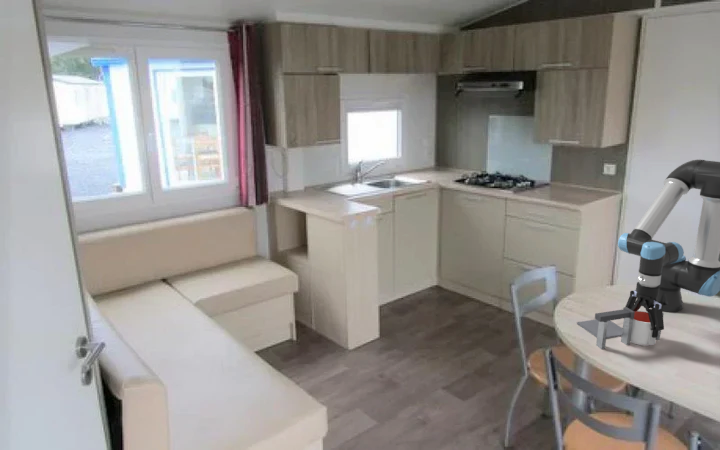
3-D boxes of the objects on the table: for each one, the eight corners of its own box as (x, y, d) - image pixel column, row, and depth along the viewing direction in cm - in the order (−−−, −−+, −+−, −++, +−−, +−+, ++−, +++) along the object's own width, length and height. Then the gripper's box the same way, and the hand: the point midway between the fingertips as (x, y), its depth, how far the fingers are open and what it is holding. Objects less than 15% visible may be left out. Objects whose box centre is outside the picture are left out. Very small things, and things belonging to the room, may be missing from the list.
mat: (605, 319, 219) (606, 317, 219) (630, 334, 206) (630, 333, 206) (576, 323, 216) (576, 322, 215) (599, 339, 202) (599, 338, 202)
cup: (658, 348, 195) (662, 323, 193) (629, 345, 197) (633, 321, 195) (650, 335, 205) (653, 311, 202) (622, 333, 207) (625, 310, 204)
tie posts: (653, 336, 204) (657, 310, 201) (659, 339, 201) (663, 313, 198) (596, 345, 198) (599, 318, 195) (601, 349, 195) (604, 322, 192)
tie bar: (625, 313, 199) (626, 307, 198) (633, 318, 194) (634, 311, 194) (593, 318, 195) (594, 311, 195) (601, 323, 191) (602, 316, 190)
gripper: (618, 273, 204) (611, 325, 210) (663, 296, 183) (655, 353, 189) (634, 271, 206) (627, 323, 212) (681, 294, 185) (672, 350, 191)
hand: (640, 337), depth 201 cm, fingers closed on cup, 10 cm apart
